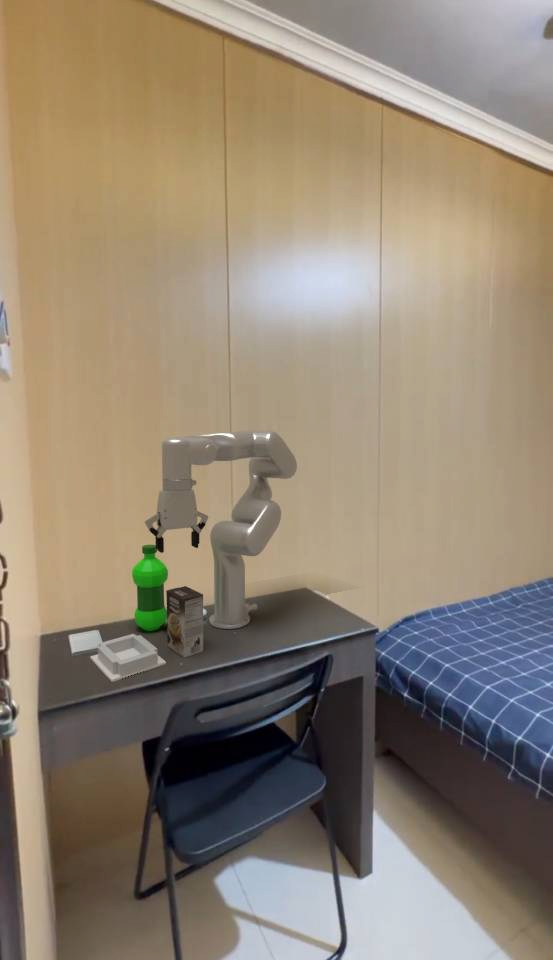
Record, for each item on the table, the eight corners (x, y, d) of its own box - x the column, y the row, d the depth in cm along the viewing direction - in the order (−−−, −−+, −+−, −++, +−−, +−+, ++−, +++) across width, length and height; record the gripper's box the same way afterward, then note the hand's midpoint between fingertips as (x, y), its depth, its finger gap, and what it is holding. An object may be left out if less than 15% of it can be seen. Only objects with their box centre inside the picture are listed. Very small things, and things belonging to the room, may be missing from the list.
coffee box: (166, 646, 133) (165, 590, 132) (186, 640, 138) (185, 585, 136) (183, 658, 127) (182, 599, 125) (204, 651, 131) (203, 593, 129)
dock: (141, 643, 135) (140, 631, 135) (166, 664, 124) (165, 650, 123) (90, 658, 126) (89, 645, 126) (111, 682, 115) (111, 667, 114)
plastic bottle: (128, 626, 147) (125, 545, 144) (160, 618, 153) (158, 540, 151) (141, 637, 139) (139, 552, 136) (175, 628, 146) (173, 546, 143)
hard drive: (104, 646, 131) (98, 629, 142) (71, 652, 127) (68, 634, 138) (104, 652, 131) (98, 634, 142) (72, 658, 128) (68, 640, 139)
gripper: (201, 482, 135) (202, 542, 137) (140, 486, 126) (141, 550, 128) (213, 485, 129) (213, 548, 131) (149, 489, 120) (150, 556, 122)
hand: (178, 549), depth 129 cm, fingers open, 9 cm apart
